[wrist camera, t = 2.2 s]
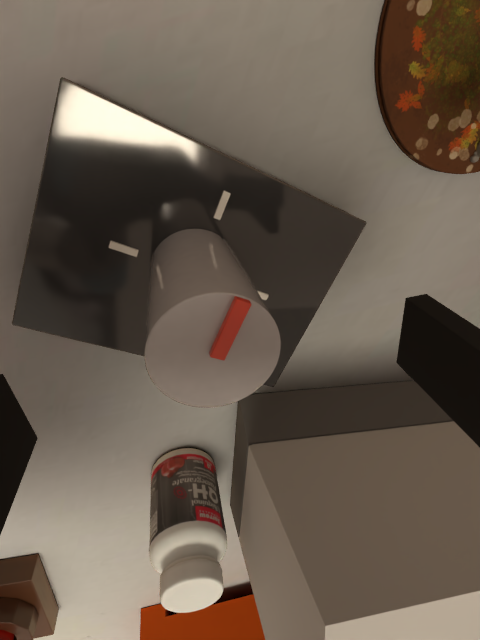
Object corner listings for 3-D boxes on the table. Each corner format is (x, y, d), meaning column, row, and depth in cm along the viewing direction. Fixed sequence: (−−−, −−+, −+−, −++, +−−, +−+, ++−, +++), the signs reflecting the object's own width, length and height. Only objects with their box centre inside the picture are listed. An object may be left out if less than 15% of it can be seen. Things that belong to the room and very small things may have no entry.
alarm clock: (230, 504, 35) (304, 894, 17) (240, 371, 27) (390, 820, 10) (417, 477, 39) (630, 768, 21) (471, 354, 31) (865, 648, 14)
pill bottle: (217, 443, 30) (240, 567, 22) (211, 486, 33) (230, 611, 24) (151, 447, 29) (148, 580, 21) (150, 491, 32) (147, 626, 23)
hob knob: (218, 321, 21) (249, 423, 14) (137, 298, 20) (126, 399, 12) (252, 247, 19) (307, 320, 12) (166, 213, 18) (172, 276, 11)
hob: (28, 300, 21) (9, 326, 19) (74, 82, 17) (59, 75, 14) (262, 362, 27) (274, 389, 24) (343, 211, 23) (368, 223, 20)
